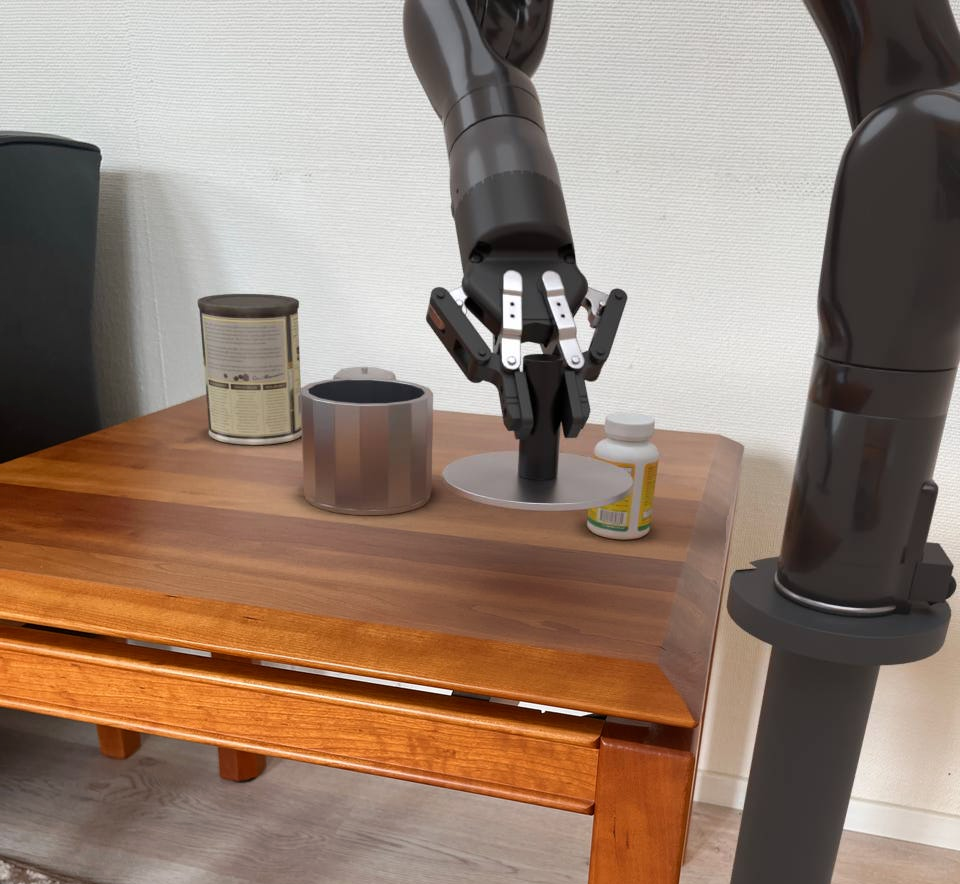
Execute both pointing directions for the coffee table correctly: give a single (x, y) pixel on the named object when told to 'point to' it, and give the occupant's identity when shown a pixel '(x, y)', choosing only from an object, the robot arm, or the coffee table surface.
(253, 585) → the coffee table surface
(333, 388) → the canister
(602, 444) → the supplement bottle
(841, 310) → the robot arm
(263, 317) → the coffee can
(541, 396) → the canister lid
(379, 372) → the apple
